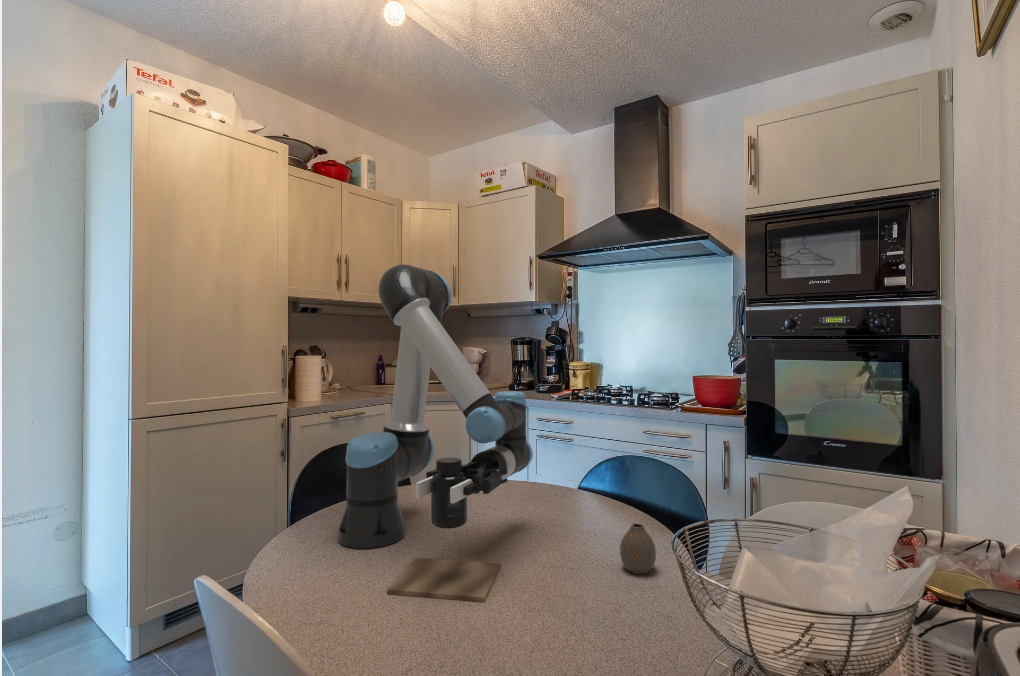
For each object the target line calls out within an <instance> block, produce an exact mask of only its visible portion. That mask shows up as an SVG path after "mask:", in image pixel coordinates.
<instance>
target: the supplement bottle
mask: <svg viewBox="0 0 1020 676" xmlns="http://www.w3.org/2000/svg"><path fill="white" fill-rule="evenodd" d="M435 462H436V463H435V464H436V467H435V470H436V471H437V473H436V474H435V475H434V476H433V477H432V479H431V493H430V496H431V497H430V499H431V500H430V501H431V503H430V505H431V507H430V508H431V509H430V510H431V511H430V512H431V513H430V515H431V517H430V518H431V524H432V525H433V526H434V527H435V528H439V529H445V530H446V529H457V528H460V527H462V526H464V525H465V524H467V522H468V496H467V497H465V498H463V499H461V500H459V501H458V502H456V503H454V504H453V503H450V488H451V487H453V486H455V485H457V484H459V483H461V482H463V481H466V480H467V478H466V476H465V474H463V473H462V472H461V470H462V465H463V464H462V458H459V457H443V458H442V457H441V458H439V459H437V460H436V461H435Z"/></svg>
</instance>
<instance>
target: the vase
mask: <svg viewBox="0 0 1020 676" xmlns="http://www.w3.org/2000/svg"><path fill="white" fill-rule="evenodd" d="M656 549H657V548H656V545H655V542H654V539H653V538H652V536H651V535H650V534H649V533H648V531H647V530H646V528H645V526H644V525H643V524H642V523H638V522H637V523H635V522H634V523H632V524H631V525H630V527H629V529H628V530H627V532H625V534H624V535H623V537H622V539H621V541H620V546H619V557H620V559H621V562H622V565H623V567H624V568H625V569H626V570H627V571H628V572H630V573H632V574H635V575H644V574H645V573H646V574H648V573H649V572H650V571H651V570H652V569H653V568H654V565H655V563H656V559H657V551H656ZM646 574H645V575H646Z"/></svg>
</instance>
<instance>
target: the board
mask: <svg viewBox="0 0 1020 676" xmlns="http://www.w3.org/2000/svg"><path fill="white" fill-rule="evenodd" d="M501 567H502V566H501V563H499V562H498V563H497V562H484V561H483V562H482V561H469V560H468V561H467V560H454V559H439V558H430V557H429V558H428V557H425V558H424V557H415V558H414V559H413V560H411V562H409V564H407V566H406V567H405V568H404V570H402V571H401V572H400V574H399V575H398V577H396V578H395V580H394V581H393V582H392V583H391V584H389V586H388V588H387V589H386V594H387V595H396V596H407V597H419V598H432V599H444V600H453V601H465V602H466V601H467V602H477V603H485V602H486V601H487V597H488V596H489V594H490V591H491V590H492V587H493V585H494V582H495V581H496V578H497V576H498V575H499V572H500V570H501Z"/></svg>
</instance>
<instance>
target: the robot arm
mask: <svg viewBox="0 0 1020 676" xmlns="http://www.w3.org/2000/svg"><path fill="white" fill-rule="evenodd" d="M377 289H378V297H379V300H380V303H381V305H382V306H383V308H384V310H385V312H386V313H387V315H388V316H389V318H390V319H391V321H392V322H393V324H394V325H395V326H398V327H400V333H399V334H400V335H399V336H400V337H399V344H398V352H397V361H396V369H395V380H394V389H393V396H392V397H393V398H392V405H391V414H390V418H389V419H388V420H387V421H386V422H384V423H383V424H384V425H383V431H377V432H370V433H365V434H360V435H358V436H355V437H354V438H352V439H350V441H348V444H347V445H346V452H345V453H346V455H345V459H344V460H345V474H346V475H345V481H346V483H345V484H346V485H345V490H346V491H345V493H346V494H345V495H346V497H345V498H346V500H345V501H346V502H345V503H346V504H345V505H346V506H345V509H344V512H343V515H342V517H341V518H342V519H341V521H340V524H339V528H338V534H337V536H338V537H337V538H338V543H339V544H340V545H342V546H344V547H346V548H350V549H361V550H362V549H375V548H382V547H386V546H390V545H393V544H394V543H395V544H396V543H397V542H399V541H401V540H402V539H403V538H404V537H405V536H406V523H405V519H404V516H403V513H402V511H401V508H400V504H399V502H398V500H399V499H398V486H399V485H398V483H400V482H401V481H403V480H405V479H407V478H411V477H414V476H416V475H418V474H419V473H421V472H422V471H424V470H425V469H426V468H427V467H428V466H429V465H430V463H431V462H432V460H433V458H434V451H435V446H434V442H433V439H431V435H430V434H429V433H430V426H429V425H428V424H427V422H426V420H425V419H426V417H425V416H426V408H427V401H428V400H427V399H428V390H429V382H430V373H431V370H432V371H433V373H434V374H435V376H436V377H437V378H438V380H439V382H441V384H442V385H443V387H444V388H445V391H447V393H448V394H449V396H450V397H451V398H452V400H453V401H454V402H455V404H456V406H457V407H458V409H459V410H460V411H461V412H462V414H463V416H464V417H465V419H466V420H465V430H466V433H467V435H468V437H470V439H471V440H473V441H474V442H476V443H478V444H488V443H493V442H495V445H494V446H493V447H492V446H491V447H489V448H487V449H485V450H482V451H480V452H478V453H476V454H475V455H473V457H472V459H471V460H470V462H468V463H466V464H462V470H461V472H462V473H463V474H465V476H466V478H467V480H466V481H463V482H461V483H459V484H457V485H455V486H453V487H451V488H450V503H453V504H454V503H456V502H458V501H459V500H461V499H463V498H465V497H467V498H468V496H471V495H473V494H475V495H476V494H480V492H482V494H484V495H488V494H490V493H491V492H492V491H494V490H495V489H497V488H498V487H499V486H501V485H503V484H505V483H508V478H509V477H510V476H513V475H515V474H516V473H519V472H521V471H523V470H524V469H525V468H527V467H528V466H529V465H530V463H532V460H533V455H534V454H533V453H534V451H533V449H532V446H531V444H530V443H529V442H528V440H527V408H528V406H527V400H526V399H527V398H526V394H525V393H524V392H522V391H516V390H515V391H510V390H508V391H507V390H506V391H499V392H496V393H495V395H494V396H493V395H492V393H491V391H490V390H489V389H488V388H487V386H486V384H485V383H484V382H483V381H482V379H481V378H480V377H479V375H478V374H477V372H476V370H475V369H474V368H473V367H472V365H471V364H470V362H469V361H468V360H467V359H466V357H465V356H464V354H463V353H462V351H461V350H460V349H459V347H458V346H457V344H456V343H455V342H454V340H453V339H452V337H451V336H450V335H449V334H448V332H447V330H446V329H445V328H444V326H443V324H442V320H443V314H444V313H445V312H446V311H447V310H448V309H449V308H450V306H451V303H452V297H453V296H452V290H451V287H450V284H449V282H448V281H447V280H446V279H445V278H444V277H443V276H442V275H440V274H438V273H437V272H435V271H433V270H428V269H426V268H425V269H424V268H420V267H417V266H415V265H414V266H413V265H410V264H405V263H404V264H397V265H394V266H392V267H390V268H388V269H387V270H386V271H385V272H384V273H383V274H382V276H381V277H380V280H379V283H378V288H377ZM436 473H437V471H436V469H433V470H430V471H427V472H426V473H425V477H426V478H425V479H424V478H423V479H422V480H419V481H417V482H415V498H416V499H420V498H422V497H425V496H426V495H429V494H431V479H432V477H433V476H434V475H435V474H436Z"/></svg>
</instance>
